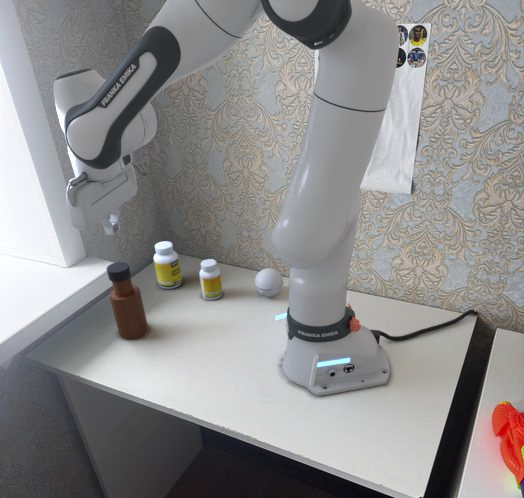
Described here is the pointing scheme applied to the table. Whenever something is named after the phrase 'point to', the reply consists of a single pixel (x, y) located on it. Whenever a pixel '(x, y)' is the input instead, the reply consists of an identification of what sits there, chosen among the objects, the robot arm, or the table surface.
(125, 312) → the bottle
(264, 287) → the white rounded piece
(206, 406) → the table surface
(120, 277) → the bung
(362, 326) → the robot arm
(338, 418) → the table surface
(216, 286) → the supplement bottle
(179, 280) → the pill bottle
